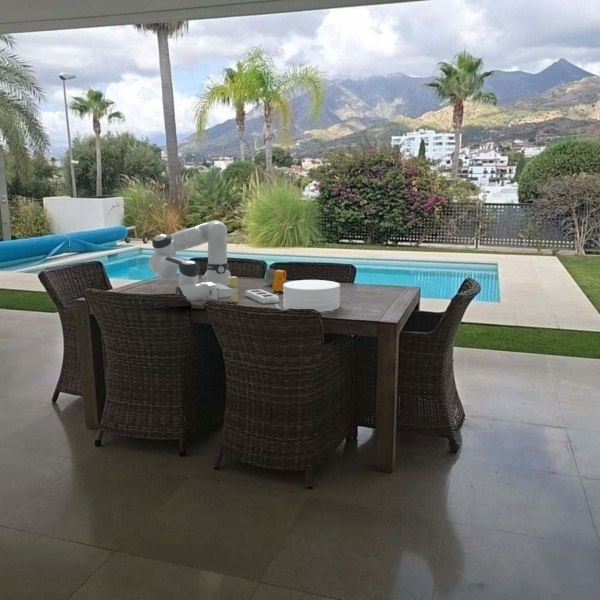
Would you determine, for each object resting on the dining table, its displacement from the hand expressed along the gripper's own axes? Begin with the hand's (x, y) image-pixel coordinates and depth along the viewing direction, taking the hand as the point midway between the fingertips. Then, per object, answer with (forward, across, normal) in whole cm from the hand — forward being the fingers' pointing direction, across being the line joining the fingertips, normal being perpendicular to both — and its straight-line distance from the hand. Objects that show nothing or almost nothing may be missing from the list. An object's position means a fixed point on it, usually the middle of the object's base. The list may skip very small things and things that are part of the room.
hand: (234, 288), depth 301 cm
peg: (-1, 0, -7) cm, 7 cm away
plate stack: (+29, +30, -8) cm, 42 cm away
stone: (+39, -34, -7) cm, 52 cm away
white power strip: (+15, 0, -7) cm, 17 cm away
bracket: (+35, -16, -7) cm, 39 cm away
